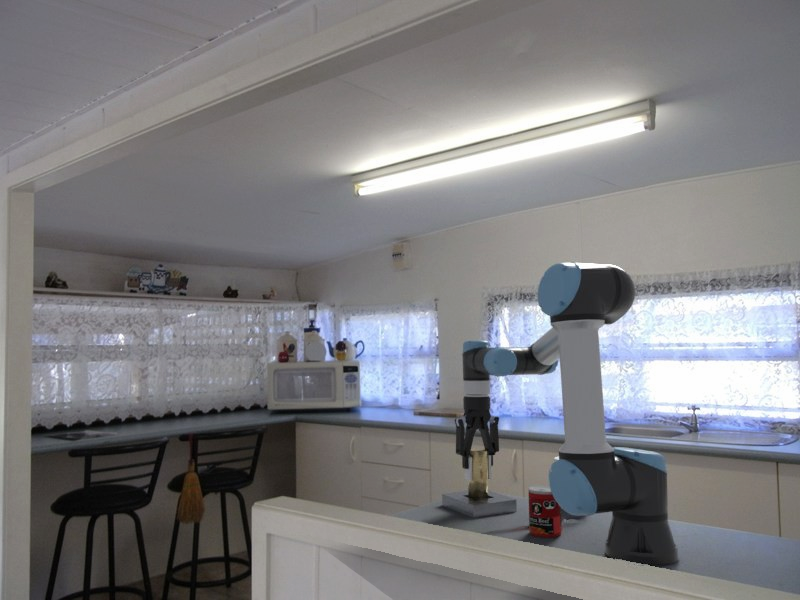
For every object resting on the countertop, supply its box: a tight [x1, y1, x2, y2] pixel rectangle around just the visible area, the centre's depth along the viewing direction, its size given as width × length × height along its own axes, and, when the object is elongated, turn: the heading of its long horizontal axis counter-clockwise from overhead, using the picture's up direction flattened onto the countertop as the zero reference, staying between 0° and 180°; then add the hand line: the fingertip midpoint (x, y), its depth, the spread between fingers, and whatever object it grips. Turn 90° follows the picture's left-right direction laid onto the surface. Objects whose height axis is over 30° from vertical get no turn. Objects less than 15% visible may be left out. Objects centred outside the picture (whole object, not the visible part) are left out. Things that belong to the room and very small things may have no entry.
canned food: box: [528, 484, 563, 539], centre depth 168 cm, size 8×8×11 cm
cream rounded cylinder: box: [467, 448, 489, 500], centre depth 189 cm, size 6×6×13 cm
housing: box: [441, 489, 518, 519], centre depth 189 cm, size 16×14×4 cm
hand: (478, 479), depth 189 cm, fingers closed on cream rounded cylinder, 6 cm apart
